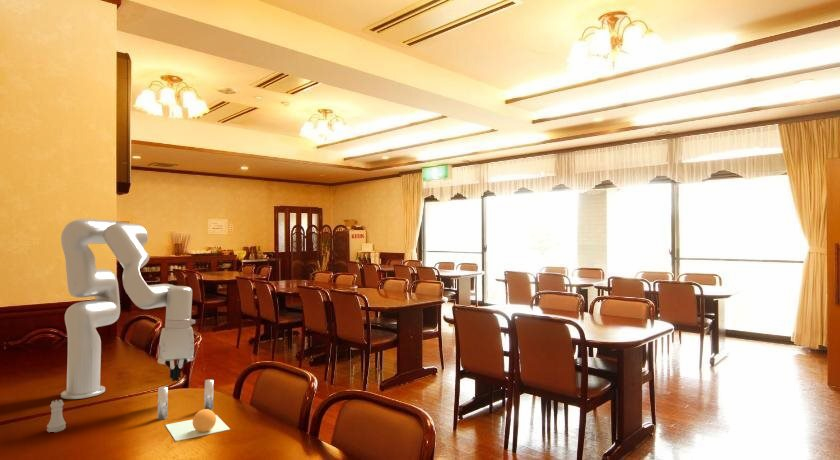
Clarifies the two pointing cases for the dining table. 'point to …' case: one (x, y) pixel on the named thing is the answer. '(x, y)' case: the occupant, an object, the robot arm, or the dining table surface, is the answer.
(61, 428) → the rook chess piece
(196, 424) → the ball
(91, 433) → the dining table surface
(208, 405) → the post
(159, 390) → the post
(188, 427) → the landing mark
